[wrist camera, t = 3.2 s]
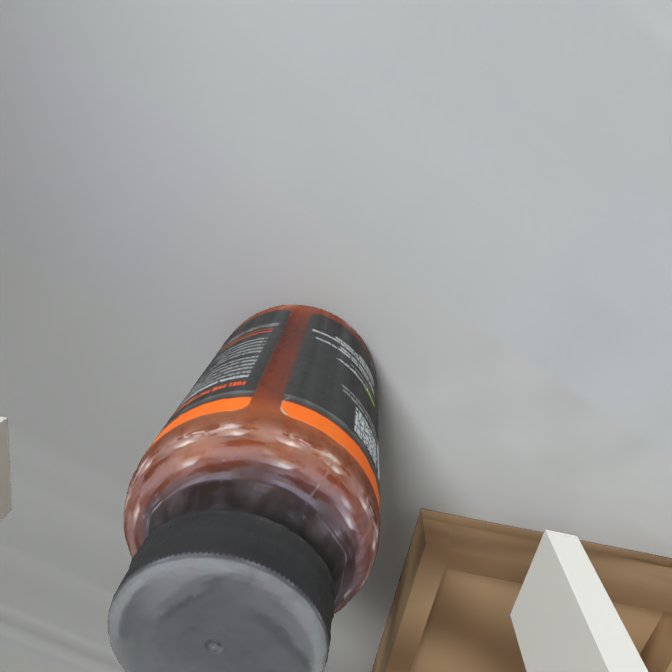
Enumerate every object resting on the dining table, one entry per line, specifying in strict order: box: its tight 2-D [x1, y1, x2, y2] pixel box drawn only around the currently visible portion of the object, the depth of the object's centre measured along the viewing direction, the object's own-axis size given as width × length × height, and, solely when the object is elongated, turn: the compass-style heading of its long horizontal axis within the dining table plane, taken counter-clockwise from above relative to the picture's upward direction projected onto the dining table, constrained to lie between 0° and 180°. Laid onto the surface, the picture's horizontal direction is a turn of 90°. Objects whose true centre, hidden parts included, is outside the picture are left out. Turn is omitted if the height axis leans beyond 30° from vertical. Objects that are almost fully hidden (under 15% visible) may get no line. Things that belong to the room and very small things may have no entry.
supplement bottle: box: [108, 305, 380, 672], centre depth 14 cm, size 6×6×11 cm
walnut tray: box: [372, 509, 672, 672], centre depth 22 cm, size 12×12×2 cm
